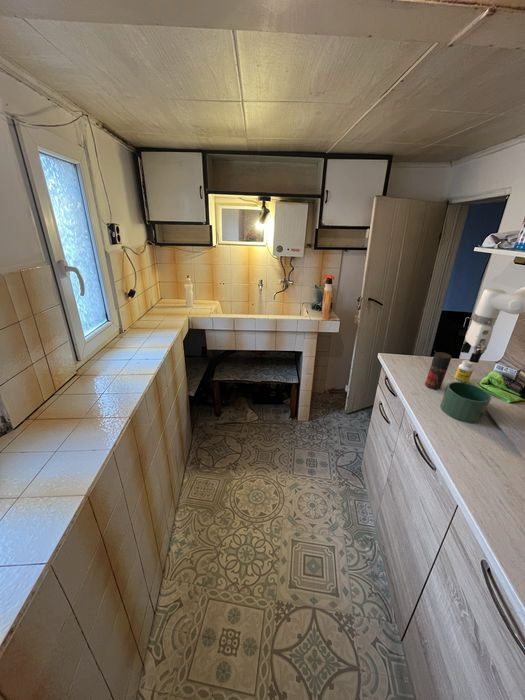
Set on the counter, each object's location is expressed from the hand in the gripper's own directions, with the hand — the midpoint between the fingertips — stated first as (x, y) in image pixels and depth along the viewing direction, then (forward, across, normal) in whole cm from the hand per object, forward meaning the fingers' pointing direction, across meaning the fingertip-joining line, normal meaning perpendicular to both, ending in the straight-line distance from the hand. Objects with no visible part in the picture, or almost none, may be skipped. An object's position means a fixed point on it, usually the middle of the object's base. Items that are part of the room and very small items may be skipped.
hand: (468, 357), depth 122 cm
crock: (+12, -26, +8) cm, 30 cm away
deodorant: (+12, -9, +14) cm, 20 cm away
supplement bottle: (+12, 0, 0) cm, 12 cm away
